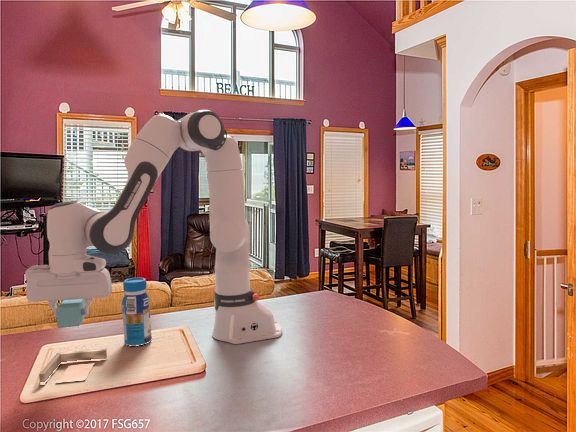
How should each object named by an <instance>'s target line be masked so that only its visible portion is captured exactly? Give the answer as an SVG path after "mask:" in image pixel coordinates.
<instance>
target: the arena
mask: <svg viewBox="0 0 576 432" xmlns="http://www.w3.org/2000/svg"><path fill="white" fill-rule="evenodd" d="M107 350H108V349H107V348H99V349H98V348H97V349H88V350H78V351H75V350H74V351H64V352H57V353H56V354H55V355H54V356H53V357H52V359H51V360H50V361H49V362H48V363H47V364H46V366H44V368H42V370H41V371H40V373H38V379H39V383H40V382H45V381H46V380H47V379H48V378H49V376H50V375H51V374H52V373H53V371H54V370H55V369H56V368H57V367H58V365H59V364H60V363H61V362H67V361H77V360H91V359H106V358H107V359H108V356H107V355H108V354H107V353H108V352H107Z"/></svg>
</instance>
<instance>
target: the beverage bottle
mask: <svg viewBox="0 0 576 432" xmlns="http://www.w3.org/2000/svg"><path fill="white" fill-rule="evenodd" d="M146 279H147V278H144V277H132V278H127V279H124V280H123V284H122V285H123V291H124V293H125V294H124V296H123V297H122V301H121V305H122V309H121V315H122V321H123V322H122V323H123V326H122V327H123V336H124V337H123V338H124V339H123V340H124V341H123V342H124V345H125V344H126V345H125V346H127V345H131V346H136V345H141V344H145V343H147V342H149V341H152V340H153V338H152V337H153V336H152V321H151V319H152V318H151V310H152V308H151V304H150V301H151V300H150V296H149V295H148V293H147V292H146V291H147V280H146ZM151 339H152V340H151Z"/></svg>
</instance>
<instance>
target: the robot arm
mask: <svg viewBox="0 0 576 432" xmlns="http://www.w3.org/2000/svg"><path fill="white" fill-rule="evenodd" d="M177 150H180V151H184V152H186V153H187V152H188V153H190V152H191V153H192V152H196V151H197V152H199V151H201V153H202V154H203V156H204V159H205V161H206V173H207V185H208V195H209V212H208V213H209V238H210V242H211V244H212V246H213V247H214V248H215V262H214V282H215V283H214V284H215V285H214V287H215V290H214V294H213V295H214V296H213V301H214V302H213V303H214V304H213V306H214V310H215V313H214V314H215V317H214V324H213V329H212V334H211V336H212V338H214V339H215V340H217V341H221V342H226V343H230V344H233V345H240V344H246V343H251V342H258V341H263V340H264V341H265V340H269V339H274V338H280V337H281V336H282V333H283V331H282V327H281V325H280V324H279V323H278V322H276V321H275V317H274V315H273V313H272V311H271V310H270V309H269V308H268V307H267V306H264V305H263V304H262V303H260V302H259V300H260V299H259V298H260V296H259V294H258V293H257V292H256V291H255V290H254V289H251V286H250V285H251V283H250V282H251V281H250V243H251V242H250V237H251V236H250V231H251V230H250V224H249V222H248V220H247V218H246V208H245V207H246V206H245V205H246V204H245V198H246V197H245V195H246V194H245V184H244V172H243V163H242V158H241V153H240V149H239V145H238V142H237V140H236V139H235V138H234V137H232V136H230V135H228V132H227V130H226V129H225V125H224V123H223V121H222V119H221V118H220V116H219V115H218V114H217V113H216V112H215V111H212V110H210V109H209V110H208V109H199V110H197V111H194V112H190V113H188V114H186V115H184V116H183V117H182V118H179V119H177V120H175V119H174V118H173V117H171V116H169V115H166V114H163V113H162V114H161V113H160V114H159V113H158V114H156V115H154V116H151V118H150V119H149V120H148V121H147V122H146V123H145V124H144V126H142V128H141V129H140V130H139V131H138V133H137V135H136V136H135V138H133V141H132V142H131V144H130V145H129V147H128V149H127V151H126V154H125V157H124V167H125V168H126V171H127V180H126V183H125V185H124V187H123V189H122V191H121V193H120V194H119V196H118V197H117V200H116V202H115V203H114V205H113V207H112V208H111V209H110V210H109V211H108V212H106V211H102V210H98V209H96V208H93V207H92V206H91V207H90V206H88V205H86V204H84V203H82V202H81V201H79V200H69V201H68V200H66V201H63V202H58V203H55V204H53V205H51V207H50V208H49V209H48V210H47V211H48V212H47V216H46V235H47V240H48V242H49V249H48V264H41V265H38V264H37V265H31V266H29V267H28V268H27V269H26V270H25V272H24V273H25V281H26V289H25V290H26V291H25V293H26V294H25V295H26V300H27V301H28V302H30V303H39V302H48V306H49V307H50V309H51V310H52V312H53V317H54V318H57V314H56V308H57V307H58V305H57V303H58V301H63V300H73V299H85V307H83V308H82V309H81V312H82V313H81V315H86V316H88V315H89V314H90V312H89V311H90V310H89V309H90V308H89V307H90V306H91V304H92V302H93V299H102V298H103V299H104V298H108V297H109V296H110V295H111V294H112V293H113V284H112V278H111V274H110V272H109V270H108V269H107V268H105V267H106V266H107V260H106V259H105V258H103V257H99V256H94V255H90V254H87V249H88V247H94V248H95V249H96V250H98V251H99V252H101V253H103V254H107V255H116V254H118V253H122V252H124V250H126V249H127V248H129V246H130V245H131V243H132V242H133V239H134V235H135V227H136V223H137V219H138V217H139V215H140V213H141V211H142V209H143V207H144V206H145V203H146V201H147V199H148V198H149V196H150V194H151V191H152V190H153V188H154V186H155V183H156V182H157V180H158V179H159V177H160V175H161V174H162V173H163V171H164V169H165V168H166V166H167V164H168V163H169V161H170V160H171V158H172V156H173V155H174V152H176V151H177Z"/></svg>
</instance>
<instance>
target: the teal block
mask: <svg viewBox="0 0 576 432" xmlns="http://www.w3.org/2000/svg"><path fill="white" fill-rule="evenodd" d="M85 306H86V303H85V299H73V300H62V302H60V303H59V305H57V308H56V314H57V317H56V322H57V325H56V326H57V329H63V328H72V327H73V328H74V327H80V325H81V324H82V323H83V321H84V320H85V318H86V316H87V315H81V313H82V312H81V309H82V308H83V307H85Z"/></svg>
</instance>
